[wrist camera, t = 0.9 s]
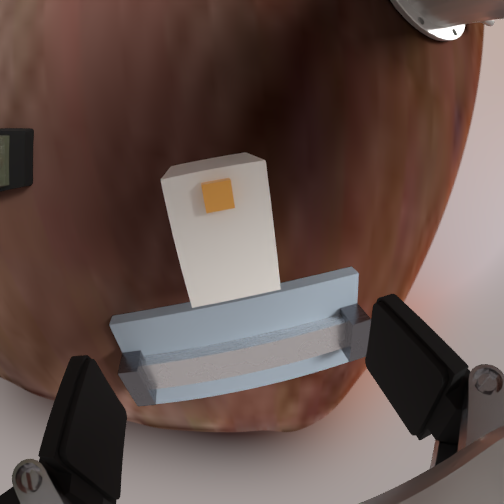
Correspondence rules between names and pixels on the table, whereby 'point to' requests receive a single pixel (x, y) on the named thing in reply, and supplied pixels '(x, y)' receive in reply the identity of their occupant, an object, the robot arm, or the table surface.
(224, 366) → the rail
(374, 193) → the table surface
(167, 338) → the board
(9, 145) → the green creature figurine
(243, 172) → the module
